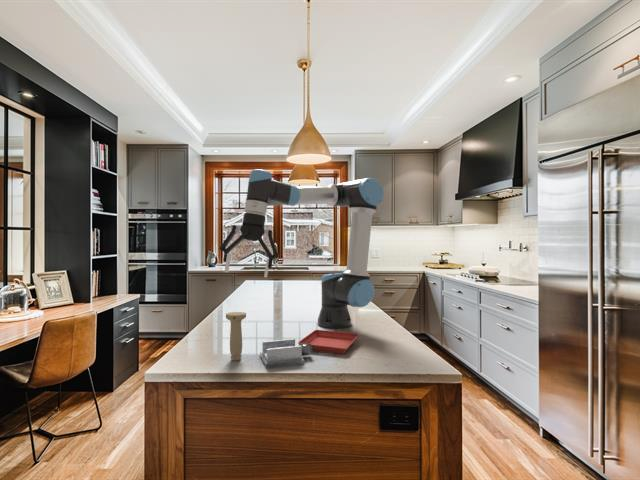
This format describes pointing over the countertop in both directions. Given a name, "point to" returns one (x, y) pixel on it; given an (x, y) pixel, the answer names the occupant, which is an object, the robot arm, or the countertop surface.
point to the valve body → (283, 353)
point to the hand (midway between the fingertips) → (246, 274)
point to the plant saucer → (329, 341)
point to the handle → (235, 334)
